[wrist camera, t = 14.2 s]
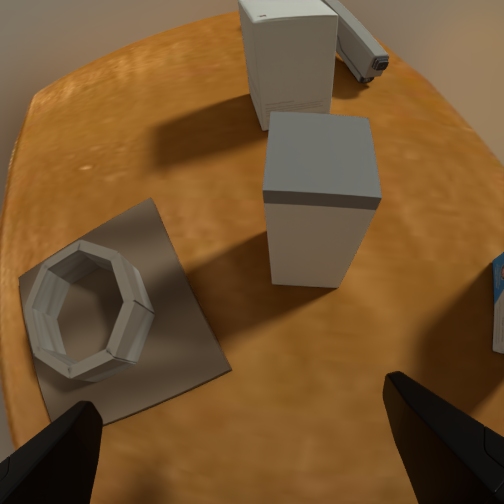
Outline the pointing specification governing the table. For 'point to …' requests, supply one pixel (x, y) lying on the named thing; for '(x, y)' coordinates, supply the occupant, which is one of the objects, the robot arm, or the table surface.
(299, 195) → the link block
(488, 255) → the table surface
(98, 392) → the ring stand
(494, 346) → the ink box
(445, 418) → the robot arm
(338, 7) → the gun
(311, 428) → the table surface
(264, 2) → the supplement box
